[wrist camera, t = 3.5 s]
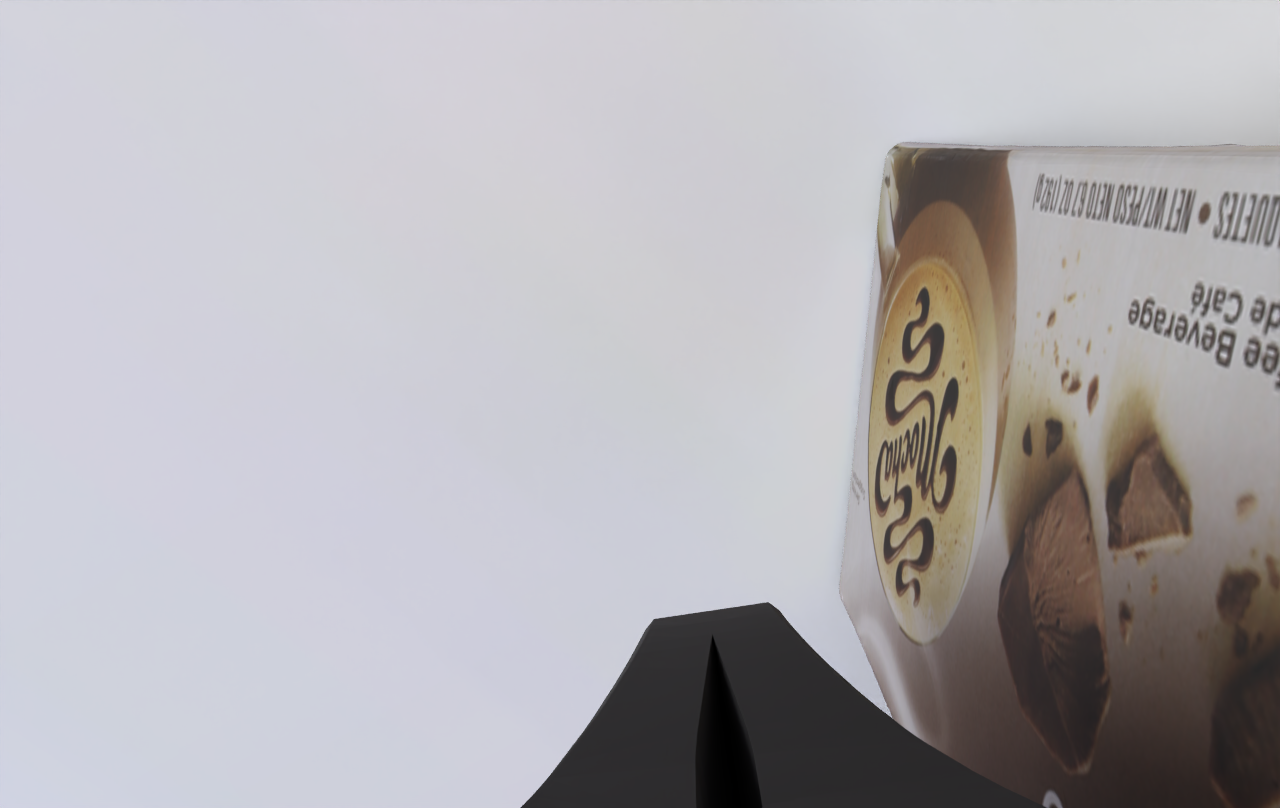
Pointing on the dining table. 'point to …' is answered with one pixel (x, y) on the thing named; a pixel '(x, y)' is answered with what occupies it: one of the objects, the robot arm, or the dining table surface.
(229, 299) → the dining table surface
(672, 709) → the robot arm
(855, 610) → the coffee box
